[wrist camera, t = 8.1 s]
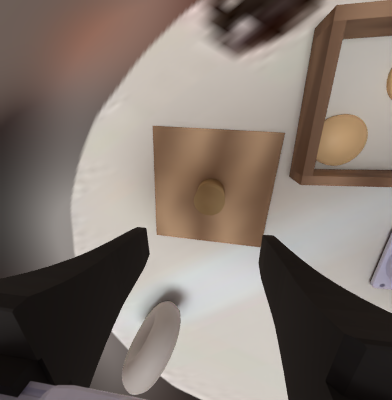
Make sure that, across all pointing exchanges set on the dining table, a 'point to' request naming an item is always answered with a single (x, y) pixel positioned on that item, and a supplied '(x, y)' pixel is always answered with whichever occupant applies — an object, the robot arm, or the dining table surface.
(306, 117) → the box
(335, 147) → the biscuit
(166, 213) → the lid
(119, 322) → the dining table surface
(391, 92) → the biscuit
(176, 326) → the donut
